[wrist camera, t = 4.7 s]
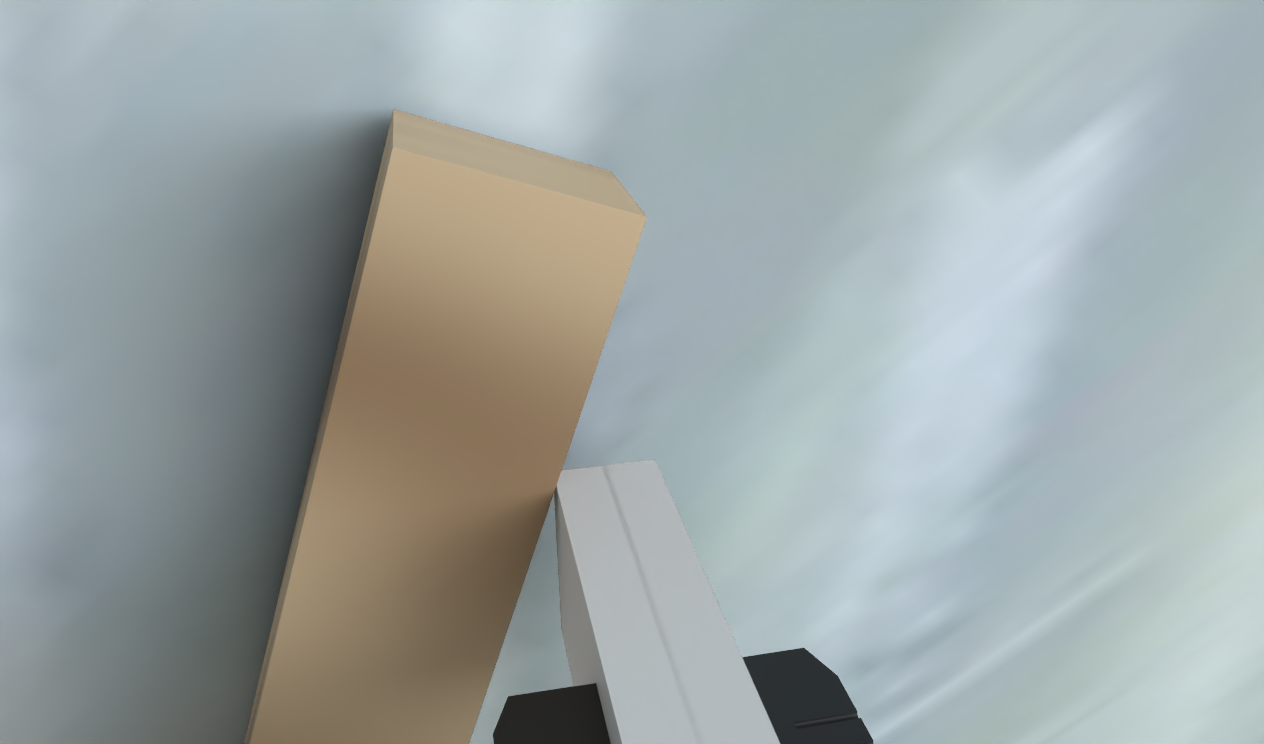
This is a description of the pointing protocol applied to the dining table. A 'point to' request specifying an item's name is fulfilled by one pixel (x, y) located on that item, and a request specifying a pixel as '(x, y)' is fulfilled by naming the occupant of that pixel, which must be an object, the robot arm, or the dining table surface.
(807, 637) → the dining table surface
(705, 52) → the dining table surface
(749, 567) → the dining table surface
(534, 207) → the tongs swing jaw
